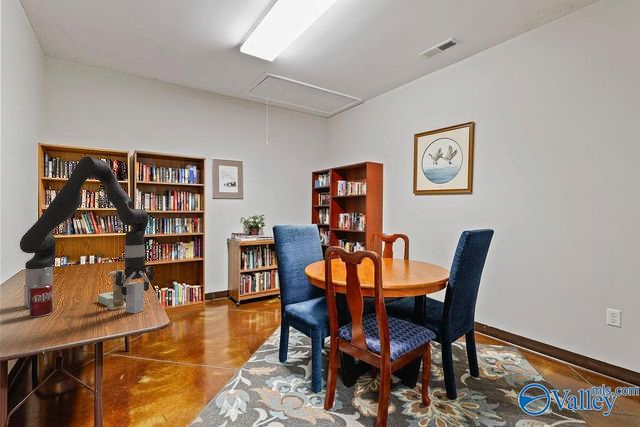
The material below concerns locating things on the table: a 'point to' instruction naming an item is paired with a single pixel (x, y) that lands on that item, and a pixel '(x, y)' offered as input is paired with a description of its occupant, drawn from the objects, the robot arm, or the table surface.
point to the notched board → (106, 298)
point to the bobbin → (117, 294)
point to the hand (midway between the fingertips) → (135, 293)
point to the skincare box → (135, 297)
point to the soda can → (40, 300)
